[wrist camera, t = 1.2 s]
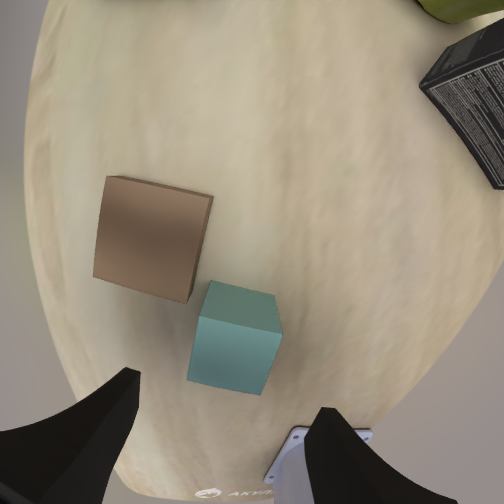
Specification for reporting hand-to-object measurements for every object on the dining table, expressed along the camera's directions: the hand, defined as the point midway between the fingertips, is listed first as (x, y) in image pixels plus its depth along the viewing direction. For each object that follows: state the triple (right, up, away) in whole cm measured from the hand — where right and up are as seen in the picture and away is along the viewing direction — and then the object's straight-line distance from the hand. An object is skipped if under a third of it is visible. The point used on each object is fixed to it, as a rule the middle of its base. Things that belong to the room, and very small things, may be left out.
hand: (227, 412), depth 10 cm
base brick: (-5, +7, +7) cm, 11 cm away
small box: (+18, +17, +6) cm, 25 cm away
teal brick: (0, +2, +9) cm, 9 cm away
